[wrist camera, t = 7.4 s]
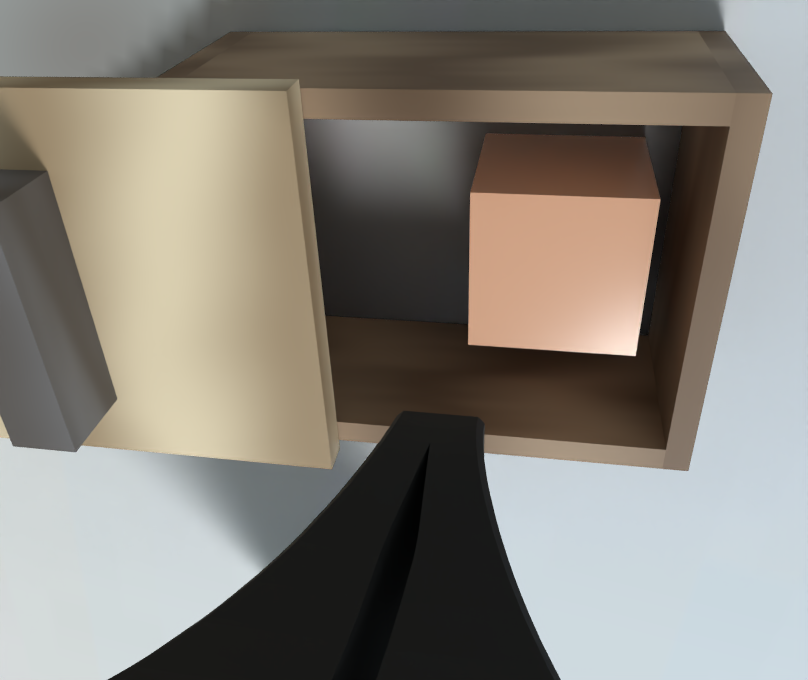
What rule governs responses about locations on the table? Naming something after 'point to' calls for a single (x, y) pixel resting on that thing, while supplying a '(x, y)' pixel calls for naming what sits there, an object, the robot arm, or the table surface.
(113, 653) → the table surface
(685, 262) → the box
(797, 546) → the table surface
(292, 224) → the lid
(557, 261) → the cube
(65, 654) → the table surface
